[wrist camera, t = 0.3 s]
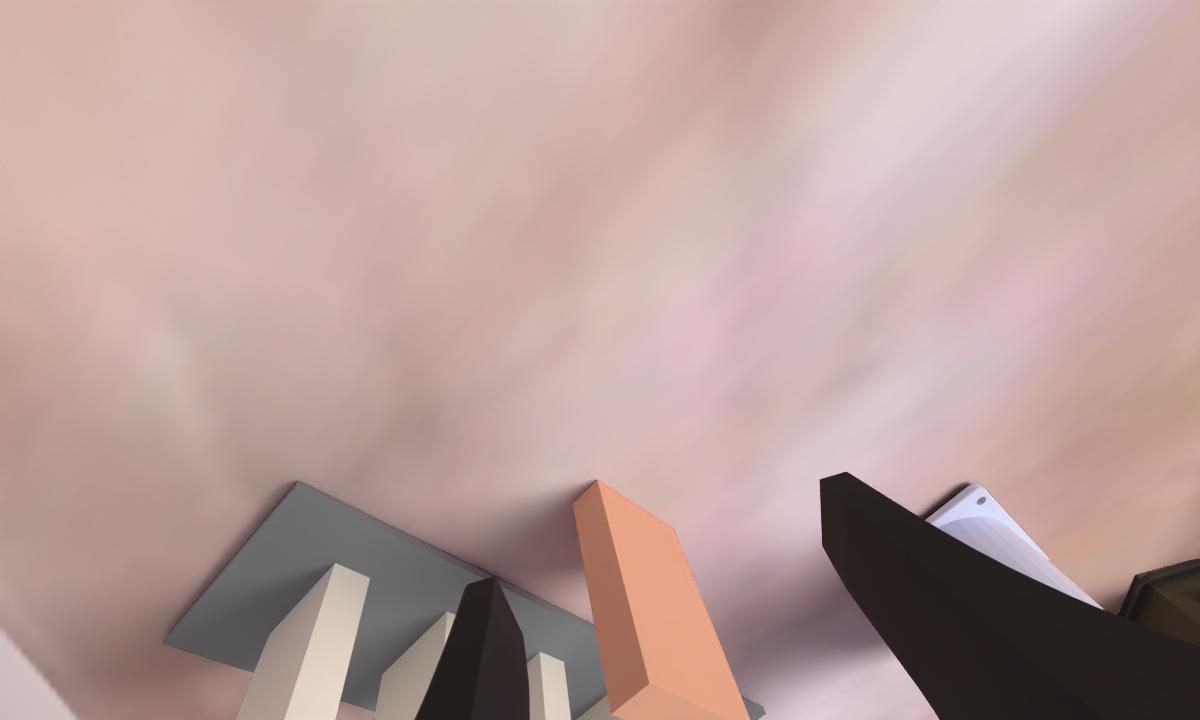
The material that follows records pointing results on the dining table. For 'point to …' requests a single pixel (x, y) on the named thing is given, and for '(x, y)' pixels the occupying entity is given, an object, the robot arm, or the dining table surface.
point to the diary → (1167, 601)
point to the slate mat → (368, 599)
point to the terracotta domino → (650, 616)
